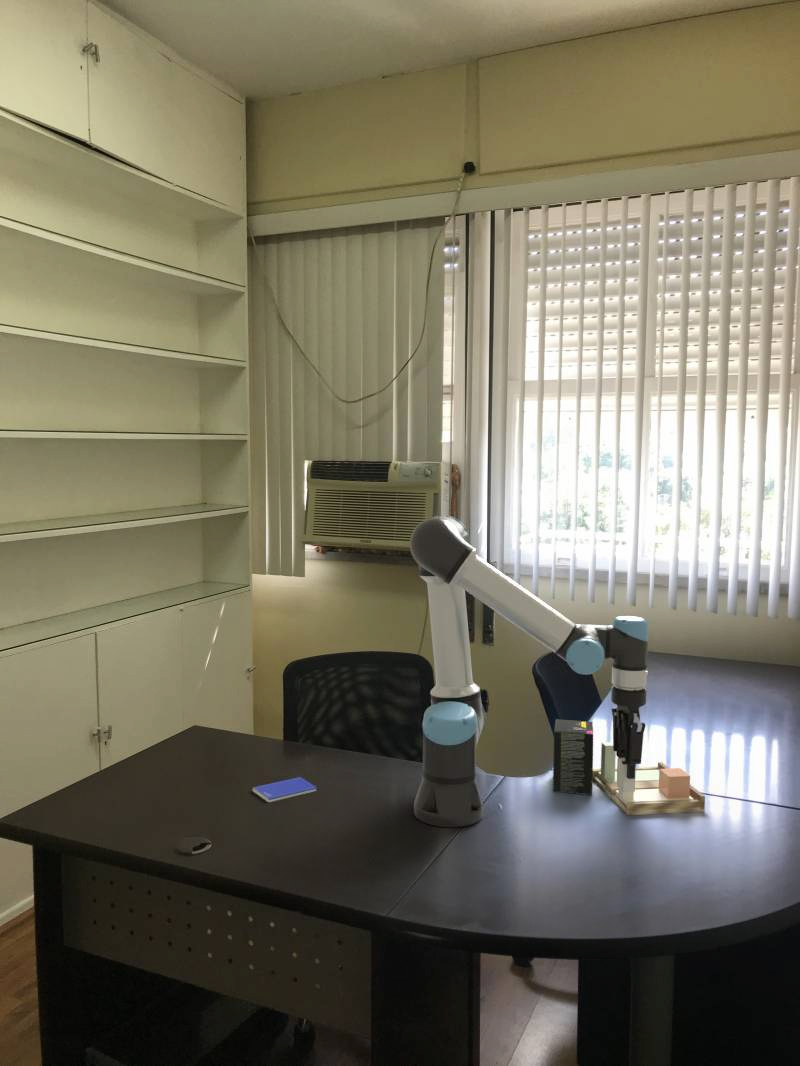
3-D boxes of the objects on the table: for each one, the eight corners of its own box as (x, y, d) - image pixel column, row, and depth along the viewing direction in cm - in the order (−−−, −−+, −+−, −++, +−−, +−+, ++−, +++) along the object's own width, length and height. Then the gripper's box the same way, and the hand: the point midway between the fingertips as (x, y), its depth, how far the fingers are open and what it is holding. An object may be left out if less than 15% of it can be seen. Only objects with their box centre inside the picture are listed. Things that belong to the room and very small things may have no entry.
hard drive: (268, 798, 193) (316, 786, 200) (252, 786, 199) (299, 776, 207) (268, 804, 193) (316, 793, 200) (252, 793, 200) (299, 782, 207)
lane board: (627, 815, 188) (627, 799, 188) (591, 778, 210) (591, 764, 209) (704, 811, 190) (705, 796, 190) (661, 776, 212) (661, 762, 212)
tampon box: (592, 795, 199) (594, 734, 198) (552, 792, 201) (553, 731, 200) (591, 779, 210) (593, 720, 209) (553, 775, 212) (554, 717, 210)
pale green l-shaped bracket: (607, 786, 201) (608, 748, 201) (597, 775, 208) (598, 739, 207) (671, 783, 204) (672, 746, 203) (658, 773, 210) (660, 737, 210)
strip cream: (626, 806, 190) (627, 766, 189) (614, 794, 196) (615, 756, 196) (693, 803, 192) (695, 764, 191) (679, 791, 198) (681, 754, 198)
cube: (668, 798, 192) (669, 776, 191) (658, 790, 197) (659, 768, 196) (689, 797, 192) (690, 775, 192) (679, 789, 197) (680, 768, 197)
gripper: (660, 694, 184) (656, 801, 186) (631, 677, 199) (627, 775, 201) (626, 695, 183) (623, 802, 185) (600, 678, 198) (597, 777, 200)
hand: (625, 788), depth 193 cm, fingers closed on strip cream, 2 cm apart
